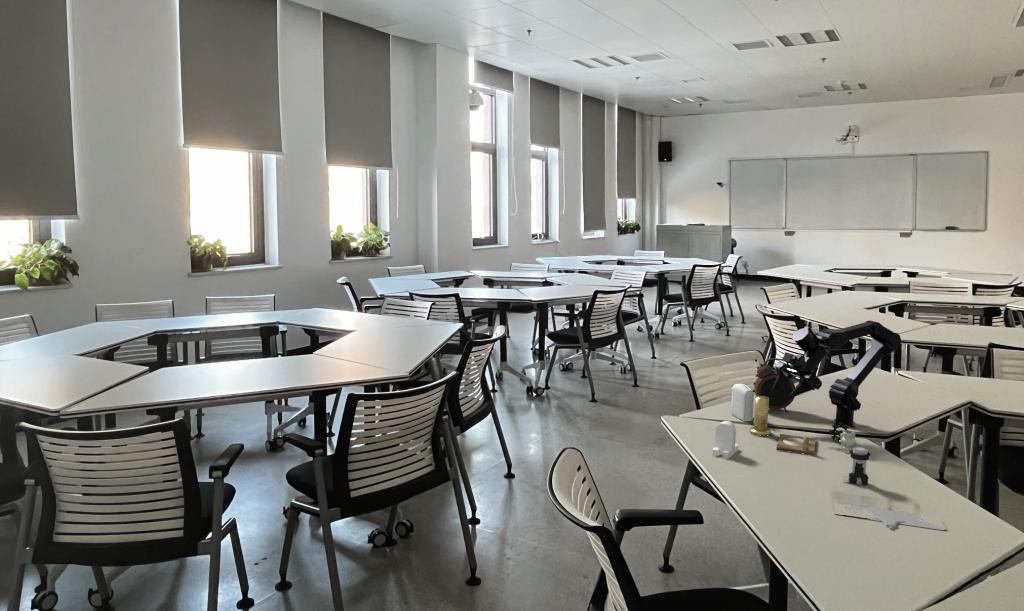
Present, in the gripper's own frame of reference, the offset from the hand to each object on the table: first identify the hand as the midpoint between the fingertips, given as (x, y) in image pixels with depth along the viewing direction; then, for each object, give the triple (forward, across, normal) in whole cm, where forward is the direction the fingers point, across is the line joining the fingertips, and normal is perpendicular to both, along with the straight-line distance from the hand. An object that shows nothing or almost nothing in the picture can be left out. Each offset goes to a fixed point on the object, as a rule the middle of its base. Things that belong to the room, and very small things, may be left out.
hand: (781, 393), depth 242 cm
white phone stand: (+31, +13, -11) cm, 35 cm away
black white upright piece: (+15, +44, +4) cm, 47 cm away
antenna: (+19, +61, 0) cm, 64 cm away
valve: (+3, +20, +16) cm, 26 cm away
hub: (+14, -1, +5) cm, 15 cm away
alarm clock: (0, -20, +19) cm, 28 cm away
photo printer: (+12, -16, +7) cm, 22 cm away
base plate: (+12, +14, +7) cm, 20 cm away
